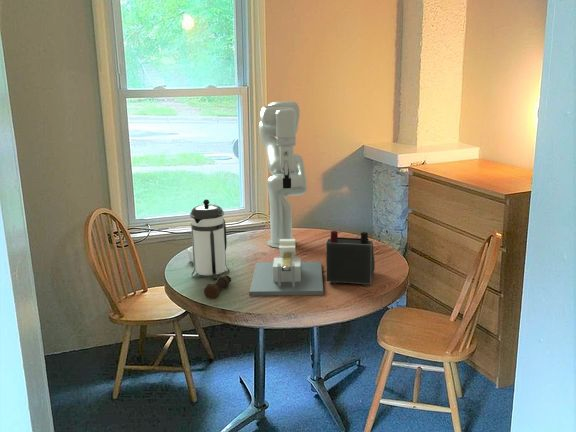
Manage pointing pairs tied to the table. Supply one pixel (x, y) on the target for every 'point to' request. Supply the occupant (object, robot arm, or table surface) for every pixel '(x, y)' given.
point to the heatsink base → (286, 289)
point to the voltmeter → (349, 259)
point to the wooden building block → (286, 262)
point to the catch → (287, 247)
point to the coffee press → (208, 240)
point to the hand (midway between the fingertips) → (287, 187)
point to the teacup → (190, 253)
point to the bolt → (217, 287)
